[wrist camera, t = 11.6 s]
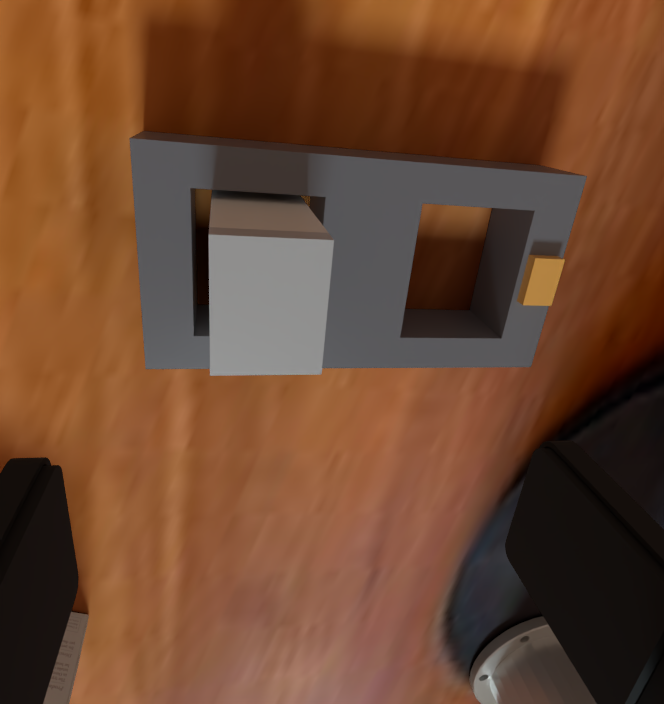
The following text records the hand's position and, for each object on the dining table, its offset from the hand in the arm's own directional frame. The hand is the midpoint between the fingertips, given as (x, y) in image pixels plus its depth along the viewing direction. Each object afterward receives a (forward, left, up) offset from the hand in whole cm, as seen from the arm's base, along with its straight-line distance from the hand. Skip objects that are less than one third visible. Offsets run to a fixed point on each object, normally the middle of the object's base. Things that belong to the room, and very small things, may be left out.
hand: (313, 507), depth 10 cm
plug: (0, -1, -19) cm, 19 cm away
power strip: (-5, 0, -19) cm, 19 cm away
